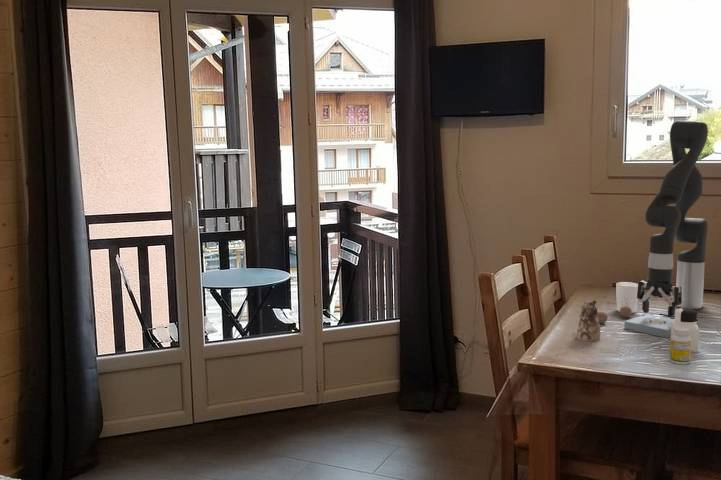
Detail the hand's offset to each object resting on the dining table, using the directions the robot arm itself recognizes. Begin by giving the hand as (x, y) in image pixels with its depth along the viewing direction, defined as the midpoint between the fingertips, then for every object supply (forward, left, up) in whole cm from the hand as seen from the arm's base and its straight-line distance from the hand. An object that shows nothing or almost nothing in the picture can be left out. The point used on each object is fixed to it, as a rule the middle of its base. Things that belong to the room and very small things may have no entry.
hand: (658, 314), depth 238 cm
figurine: (+26, -8, -5) cm, 28 cm away
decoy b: (+7, -16, -3) cm, 18 cm away
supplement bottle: (+28, +22, -5) cm, 37 cm away
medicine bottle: (+14, +16, -5) cm, 23 cm away
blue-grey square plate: (0, 0, -5) cm, 5 cm away
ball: (0, 0, -3) cm, 3 cm away
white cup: (-16, -20, -5) cm, 26 cm away
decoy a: (-6, -16, -3) cm, 17 cm away
